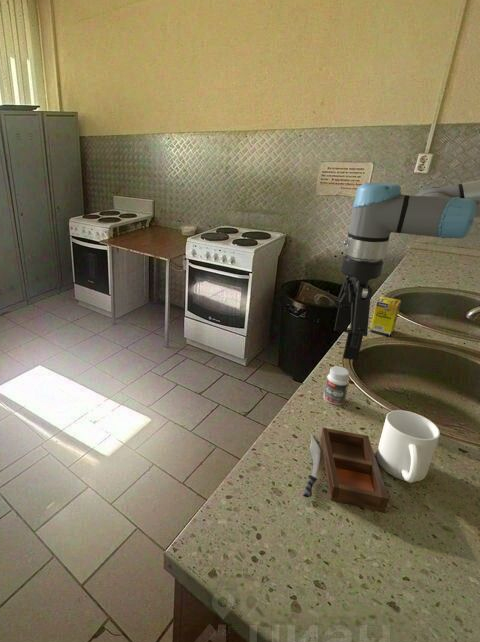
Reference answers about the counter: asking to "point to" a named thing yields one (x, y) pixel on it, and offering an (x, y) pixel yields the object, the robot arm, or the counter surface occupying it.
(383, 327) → the supplement box
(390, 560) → the counter surface
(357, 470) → the wooden divided tray
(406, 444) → the mug
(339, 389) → the pill bottle
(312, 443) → the knife
